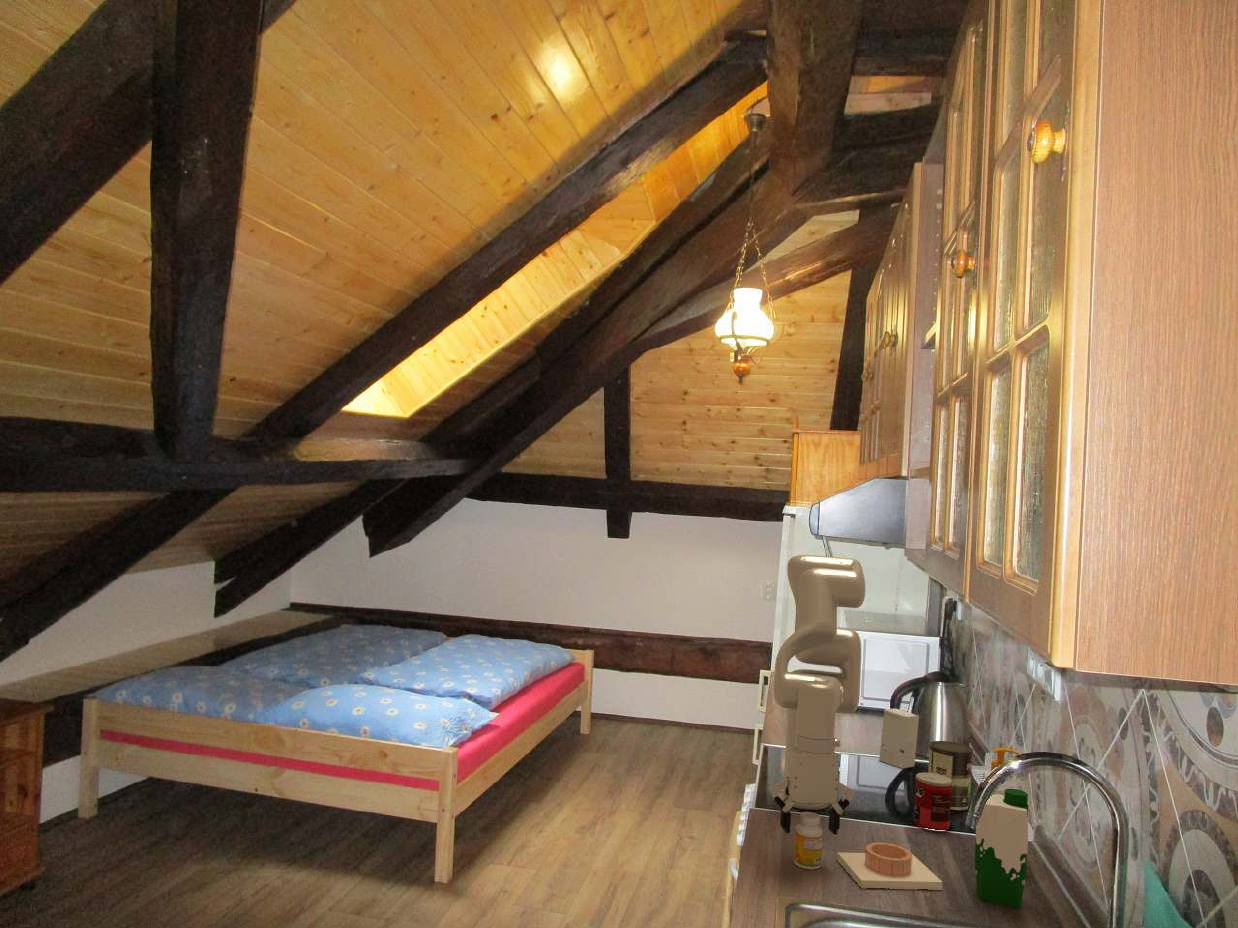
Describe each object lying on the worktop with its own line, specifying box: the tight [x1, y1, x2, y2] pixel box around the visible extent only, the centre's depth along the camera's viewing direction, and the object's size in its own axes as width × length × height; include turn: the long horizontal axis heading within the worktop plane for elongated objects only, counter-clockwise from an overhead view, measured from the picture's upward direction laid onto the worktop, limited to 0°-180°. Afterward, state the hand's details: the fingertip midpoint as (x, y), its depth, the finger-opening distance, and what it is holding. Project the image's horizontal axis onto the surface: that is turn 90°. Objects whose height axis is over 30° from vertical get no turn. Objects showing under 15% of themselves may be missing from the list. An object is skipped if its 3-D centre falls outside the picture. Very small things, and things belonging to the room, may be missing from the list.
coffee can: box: [927, 740, 974, 811], centre depth 221 cm, size 10×10×14 cm
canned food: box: [913, 772, 952, 831], centre depth 204 cm, size 8×8×11 cm
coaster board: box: [836, 852, 943, 891], centre depth 175 cm, size 13×16×2 cm
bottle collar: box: [864, 842, 913, 876], centre depth 175 cm, size 9×9×3 cm
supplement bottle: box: [793, 811, 824, 870], centre depth 177 cm, size 5×5×10 cm
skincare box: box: [879, 708, 920, 769], centre depth 253 cm, size 8×6×15 cm
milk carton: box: [974, 788, 1029, 909], centre depth 168 cm, size 9×9×20 cm
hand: (809, 831), depth 177 cm, fingers open, 9 cm apart
